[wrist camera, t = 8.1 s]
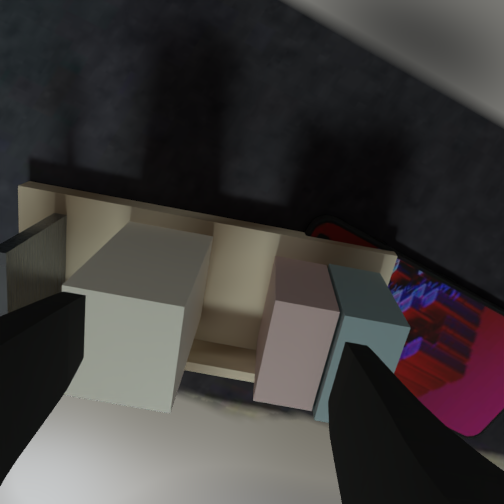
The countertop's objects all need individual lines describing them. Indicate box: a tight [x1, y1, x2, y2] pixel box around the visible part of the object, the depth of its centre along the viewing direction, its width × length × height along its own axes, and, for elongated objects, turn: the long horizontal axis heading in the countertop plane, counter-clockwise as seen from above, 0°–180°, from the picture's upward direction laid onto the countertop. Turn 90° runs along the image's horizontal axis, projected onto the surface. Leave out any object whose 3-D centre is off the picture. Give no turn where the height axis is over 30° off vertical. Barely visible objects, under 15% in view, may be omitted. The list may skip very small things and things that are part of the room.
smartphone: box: [305, 215, 504, 438], centre depth 23 cm, size 8×1×15 cm
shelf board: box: [18, 181, 398, 382], centre depth 21 cm, size 18×7×3 cm, turn 80°
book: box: [62, 221, 213, 413], centre depth 18 cm, size 4×4×7 cm
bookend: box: [0, 213, 67, 316], centre depth 19 cm, size 1×5×5 cm, turn 171°
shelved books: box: [253, 256, 411, 423], centre depth 19 cm, size 5×5×5 cm
